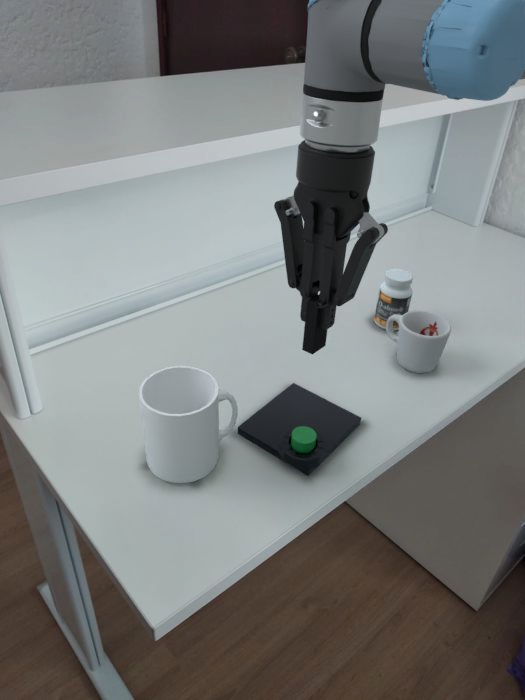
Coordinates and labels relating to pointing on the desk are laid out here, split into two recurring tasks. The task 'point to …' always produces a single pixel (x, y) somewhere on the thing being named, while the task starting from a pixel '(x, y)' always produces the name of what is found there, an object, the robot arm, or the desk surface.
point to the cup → (419, 339)
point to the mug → (182, 422)
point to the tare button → (303, 439)
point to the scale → (294, 411)
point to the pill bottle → (393, 296)
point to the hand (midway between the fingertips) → (313, 347)
